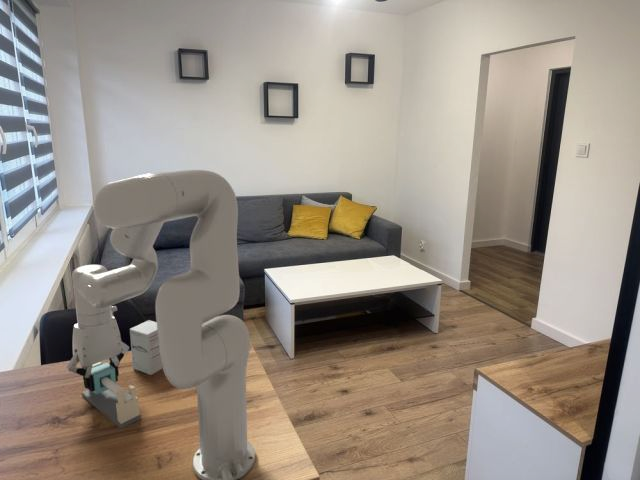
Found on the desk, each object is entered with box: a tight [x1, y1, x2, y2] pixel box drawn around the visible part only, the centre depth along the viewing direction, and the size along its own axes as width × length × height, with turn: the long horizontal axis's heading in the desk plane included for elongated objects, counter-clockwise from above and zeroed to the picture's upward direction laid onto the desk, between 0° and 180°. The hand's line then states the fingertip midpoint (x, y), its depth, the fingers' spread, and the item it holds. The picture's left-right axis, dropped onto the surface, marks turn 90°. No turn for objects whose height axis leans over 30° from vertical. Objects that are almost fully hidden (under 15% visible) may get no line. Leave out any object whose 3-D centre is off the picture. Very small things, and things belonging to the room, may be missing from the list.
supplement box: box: [129, 319, 163, 376], centre depth 126 cm, size 7×7×13 cm
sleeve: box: [91, 362, 117, 394], centre depth 109 cm, size 4×5×5 cm
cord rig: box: [81, 361, 142, 429], centre depth 108 cm, size 20×5×8 cm, turn 51°
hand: (102, 383), depth 110 cm, fingers closed on sleeve, 5 cm apart
